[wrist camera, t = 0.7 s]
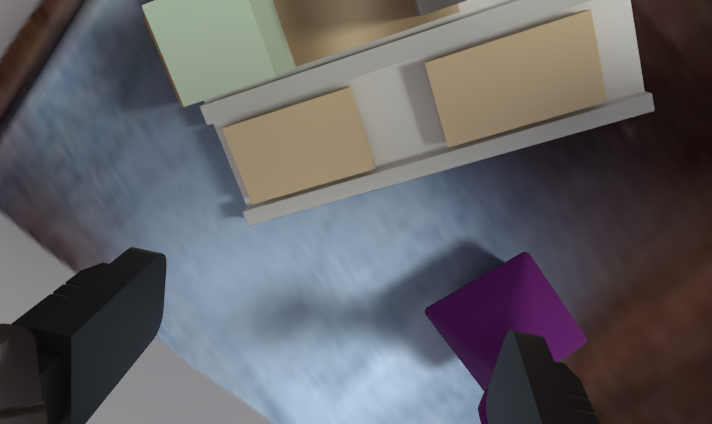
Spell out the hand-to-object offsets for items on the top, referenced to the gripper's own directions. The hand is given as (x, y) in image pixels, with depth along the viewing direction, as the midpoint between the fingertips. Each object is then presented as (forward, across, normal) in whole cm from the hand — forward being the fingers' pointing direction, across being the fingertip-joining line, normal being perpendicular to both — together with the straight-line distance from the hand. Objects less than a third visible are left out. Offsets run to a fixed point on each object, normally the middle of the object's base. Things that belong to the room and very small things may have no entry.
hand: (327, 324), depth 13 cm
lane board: (+23, 0, -5) cm, 24 cm away
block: (+21, +9, -4) cm, 23 cm away
